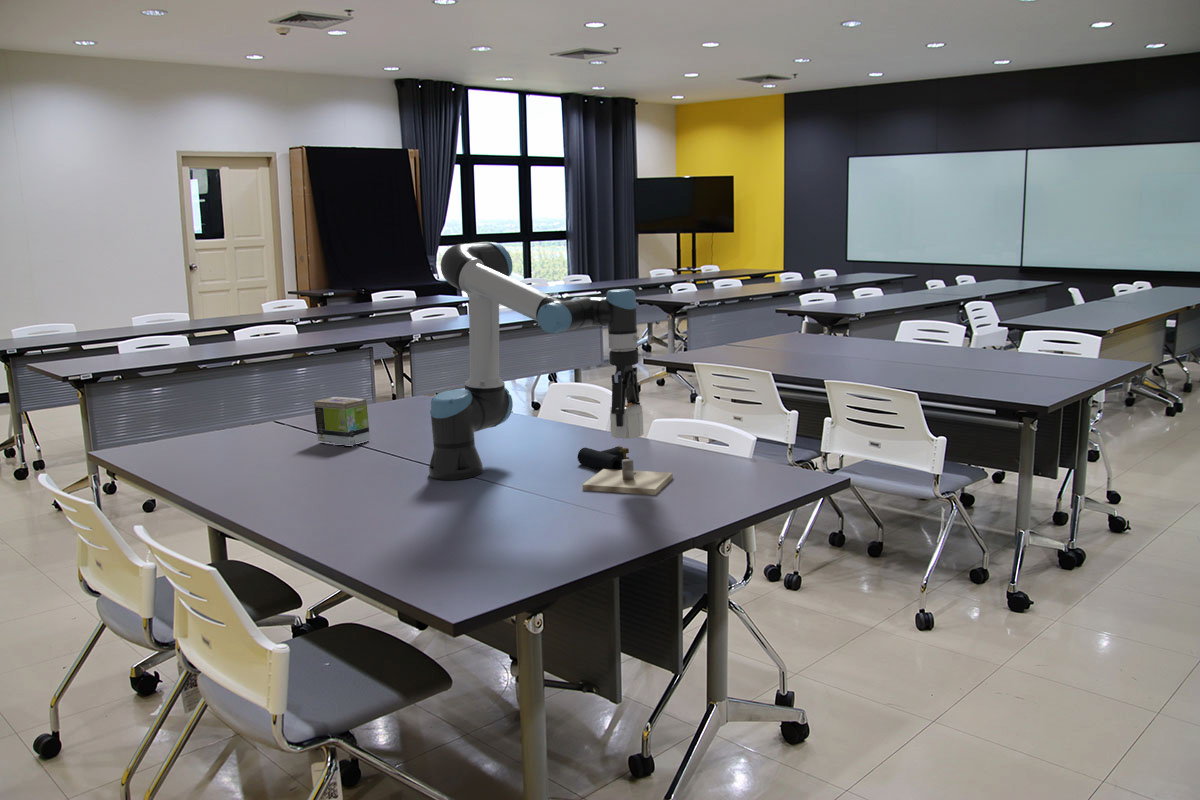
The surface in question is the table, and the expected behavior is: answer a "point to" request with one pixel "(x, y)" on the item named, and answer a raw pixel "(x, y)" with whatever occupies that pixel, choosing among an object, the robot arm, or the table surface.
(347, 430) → the tea box
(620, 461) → the pipe connector
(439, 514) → the table surface
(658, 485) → the shaft base
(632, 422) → the knob
